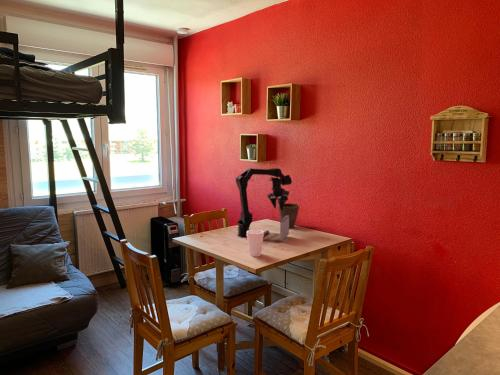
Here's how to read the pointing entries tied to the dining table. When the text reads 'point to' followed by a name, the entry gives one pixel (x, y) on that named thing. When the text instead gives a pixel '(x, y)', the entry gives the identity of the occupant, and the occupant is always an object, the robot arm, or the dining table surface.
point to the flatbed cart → (271, 237)
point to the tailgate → (284, 227)
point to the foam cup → (255, 242)
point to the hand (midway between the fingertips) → (278, 209)
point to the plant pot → (289, 213)
